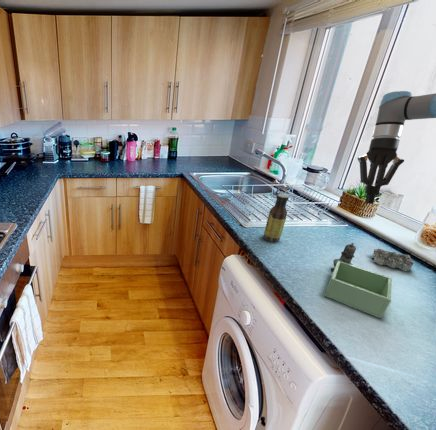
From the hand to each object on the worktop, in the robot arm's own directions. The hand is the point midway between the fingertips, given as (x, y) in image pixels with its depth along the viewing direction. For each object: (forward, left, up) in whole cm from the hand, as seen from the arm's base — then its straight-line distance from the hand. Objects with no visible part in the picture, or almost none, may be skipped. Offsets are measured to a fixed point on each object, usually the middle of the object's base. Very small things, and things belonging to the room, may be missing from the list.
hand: (368, 203), depth 106 cm
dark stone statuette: (+1, +21, -20) cm, 30 cm away
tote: (-4, +33, -20) cm, 39 cm away
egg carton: (-12, +1, -20) cm, 24 cm away
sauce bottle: (+26, +13, -20) cm, 35 cm away
